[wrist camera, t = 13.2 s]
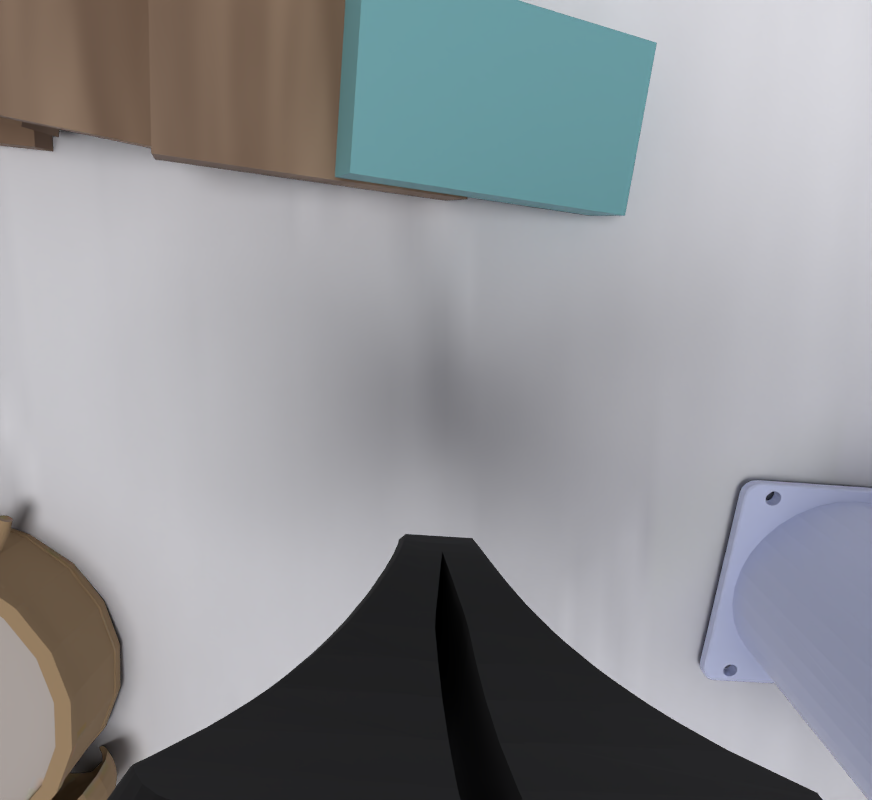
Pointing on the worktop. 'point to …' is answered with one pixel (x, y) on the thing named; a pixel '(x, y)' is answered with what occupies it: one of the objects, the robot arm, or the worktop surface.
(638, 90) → the teal domino
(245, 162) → the domino
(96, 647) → the alarm clock
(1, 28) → the domino
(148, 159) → the worktop surface
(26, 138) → the domino
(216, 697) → the worktop surface
